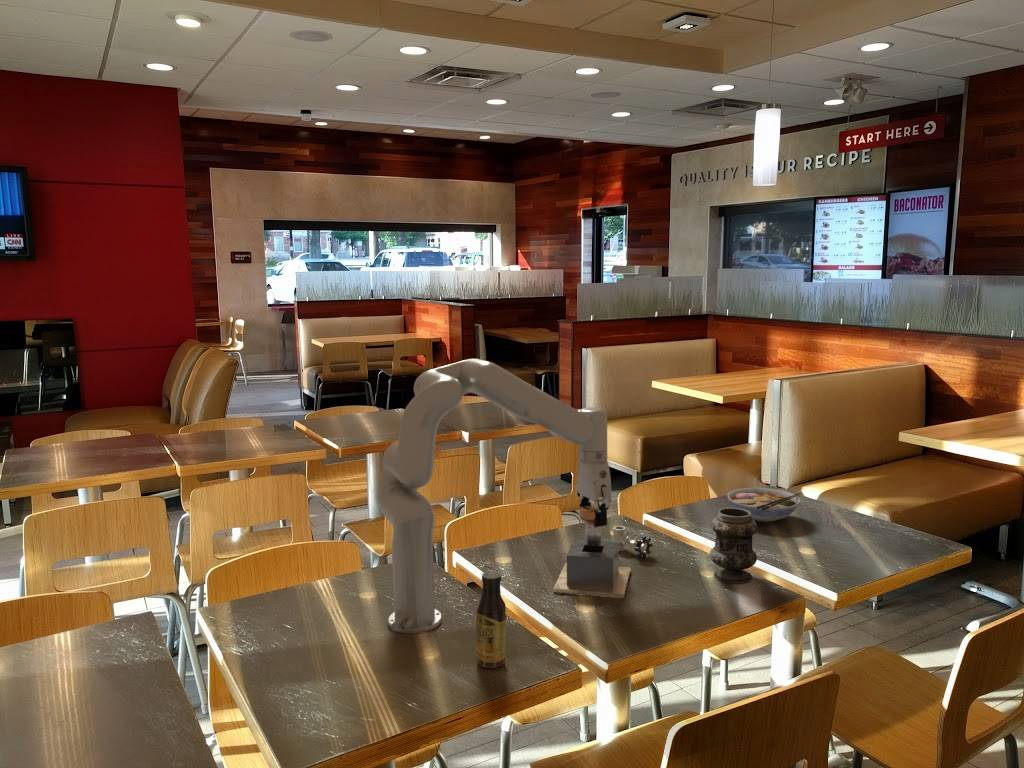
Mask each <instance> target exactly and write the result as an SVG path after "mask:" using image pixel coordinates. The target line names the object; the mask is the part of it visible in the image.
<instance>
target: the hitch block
mask: <svg viewBox="0 0 1024 768" xmlns="http://www.w3.org/2000/svg"><path fill="white" fill-rule="evenodd" d="M629 575H631V567H630V566H629V567H627V566H619V551H618V542H613V541H602V540H601V544H600V545H598V546H589V545H587V544H586V539H585V540H583V539H573V542H572V543H571V546H570V547H569V550H568V552H567V553H566V562H565V563H564V565H563V567H562V569H561V572H560V574H559V576H558V578H557V580H556V582H555V584H554V587H553V588H552V589H553V590H552V591H553V592H560V593H559V594H561V593H569V594H568V595H573V594H582V595H581V596H585V595H591V596H590V597H597V596H600V597H599V598H609V597H610V598H609V599H621V598H624V599H625V596H624V595H625V594H626V592H625V591H627V588H626V587H628V584H629V580H628V579H630V576H629ZM627 583H628V584H627Z"/></svg>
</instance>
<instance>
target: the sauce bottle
mask: <svg viewBox="0 0 1024 768" xmlns="http://www.w3.org/2000/svg"><path fill="white" fill-rule="evenodd" d="M501 581H502V574H501V573H500V572H498V571H494V570H492V571H490V570H489V571H485V572H484V573H482V575H481V582H482V592H481V593H482V594H481V595H480V599H479V603H478V606H477V609H476V616H475V617H476V618H475V619H476V623H475V624H476V626H475V629H476V631H475V635H476V637H475V638H476V640H475V641H476V643H475V644H476V645H475V646H476V647H475V648H476V649H475V655H476V663H477V664H478V665H479V666H480V667H482V668H484V669H485V668H486V669H491V670H492V669H496V668H500V667H501V666H503V664H505V661H506V651H507V650H506V647H507V646H506V645H507V642H506V640H507V636H506V635H507V633H506V632H507V631H506V630H507V616H506V615H507V614H506V610H507V609H506V602H505V601H504V599H503V597H502V595H501V593H502V592H501Z"/></svg>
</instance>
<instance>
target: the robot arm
mask: <svg viewBox="0 0 1024 768" xmlns="http://www.w3.org/2000/svg"><path fill="white" fill-rule="evenodd" d="M413 393H414V396H413V398H412V399H411V400H410V401H409V403H408V404H407V406H406V407H405V409H404V411H403V413H402V416H401V420H400V424H399V432H398V438H397V439H398V440H397V441H394V442H392V443H391V444H390V445H389V446H388V447H387V448H386V450H385V452H384V454H383V457H382V461H381V469H380V471H381V472H380V483H379V494H378V495H379V498H378V499H379V500H378V501H379V503H378V504H379V509H380V512H381V514H382V515H383V517H384V518H385V520H387V521H389V523H390V524H391V525H392V527H393V528H392V529H393V534H392V541H391V542H392V543H391V563H392V583H393V585H392V587H393V589H392V590H393V606H394V608H393V612H392V613H391V614H390V615H389V616H388V620H387V621H388V622H387V623H388V626H389V628H390V629H391V630H392V631H393V632H397V633H398V632H399V633H402V634H420V633H424V632H427V631H431V630H434V629H435V628H437V627H438V626H440V624H441V623H442V621H443V620H442V618H443V617H442V613H441V612H440V611H439V610H438V609H437V608H435V605H436V604H435V579H434V578H435V577H434V573H435V571H434V557H433V555H434V553H433V552H434V551H433V550H434V549H433V545H434V544H433V543H434V541H433V539H434V538H433V536H434V529H435V511H434V508H433V506H432V504H431V503H430V501H429V500H428V499H427V498H426V497H425V495H422V494H421V492H418V489H421V488H423V487H425V486H426V485H427V484H428V483H430V481H431V479H432V477H433V472H434V463H435V450H436V439H437V431H438V428H439V425H440V423H441V421H442V419H443V418H444V417H446V415H447V414H448V413H450V412H451V411H453V410H455V409H456V408H457V407H458V406H459V405H460V404H461V402H462V401H463V398H464V396H465V395H467V394H469V393H472V394H475V395H477V396H479V397H481V398H482V399H484V400H487V402H490V403H492V404H493V405H495V406H497V407H499V408H501V409H503V410H504V411H507V412H508V413H510V414H512V415H514V416H515V417H516V418H517V417H518V418H519V419H522V420H524V421H527V422H529V423H533V424H535V425H538V426H539V427H542V428H544V429H547V431H548V433H549V434H551V436H553V437H555V438H557V439H561V440H563V441H566V442H568V443H571V444H573V445H578V447H577V450H578V453H577V455H578V456H577V457H578V458H577V459H578V460H577V461H578V463H577V473H576V474H577V475H576V484H575V486H574V487H575V490H576V491H577V494H576V495H577V497H578V503H579V508H580V507H581V506H584V505H591V504H592V502H590V501H593V502H594V505H596V509H597V511H596V512H595V526H596V527H600V526H601V527H603V526H605V527H606V526H607V525H608V511H609V508H610V505H611V504H612V502H613V499H612V482H611V481H612V480H611V479H612V478H611V470H610V465H609V462H608V413H607V411H606V409H604V408H602V407H595V406H594V407H593V406H592V407H591V406H590V407H584V408H581V409H579V408H578V409H576V408H574V407H572V406H571V405H569V404H567V403H566V402H565V403H564V402H563V401H561V400H559V399H557V398H555V397H554V396H552V395H550V394H549V393H547V392H545V391H543V390H542V389H540V388H537V387H536V386H534V385H532V384H530V383H528V382H527V381H525V380H523V379H522V378H520V377H519V376H517V375H515V374H513V373H511V372H510V371H508V370H507V369H505V368H503V367H501V366H499V365H497V364H495V363H494V362H491V361H488V360H483V359H479V358H468V359H464V360H461V361H457V362H454V363H450V364H447V365H443V366H439V367H435V368H432V369H429V370H426V371H424V372H422V373H421V374H420V375H418V377H417V378H416V379H415V381H414V385H413ZM600 503H601V504H600ZM600 505H601V506H600Z"/></svg>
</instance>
